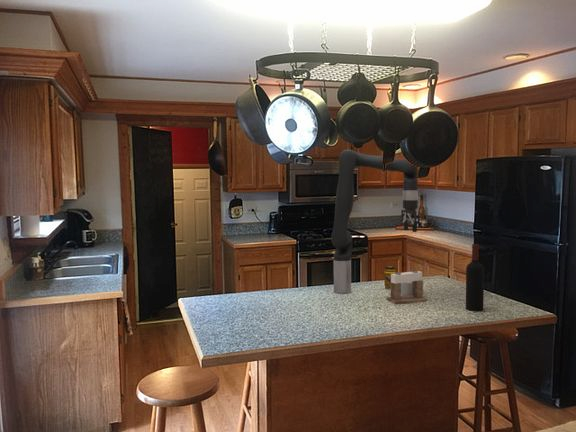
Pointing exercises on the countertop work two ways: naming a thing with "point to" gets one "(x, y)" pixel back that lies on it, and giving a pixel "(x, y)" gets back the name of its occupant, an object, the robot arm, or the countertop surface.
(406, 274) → the frame bar
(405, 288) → the paw print tray
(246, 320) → the countertop surface
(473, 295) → the wine bottle
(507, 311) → the countertop surface
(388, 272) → the condiment
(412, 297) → the stand
